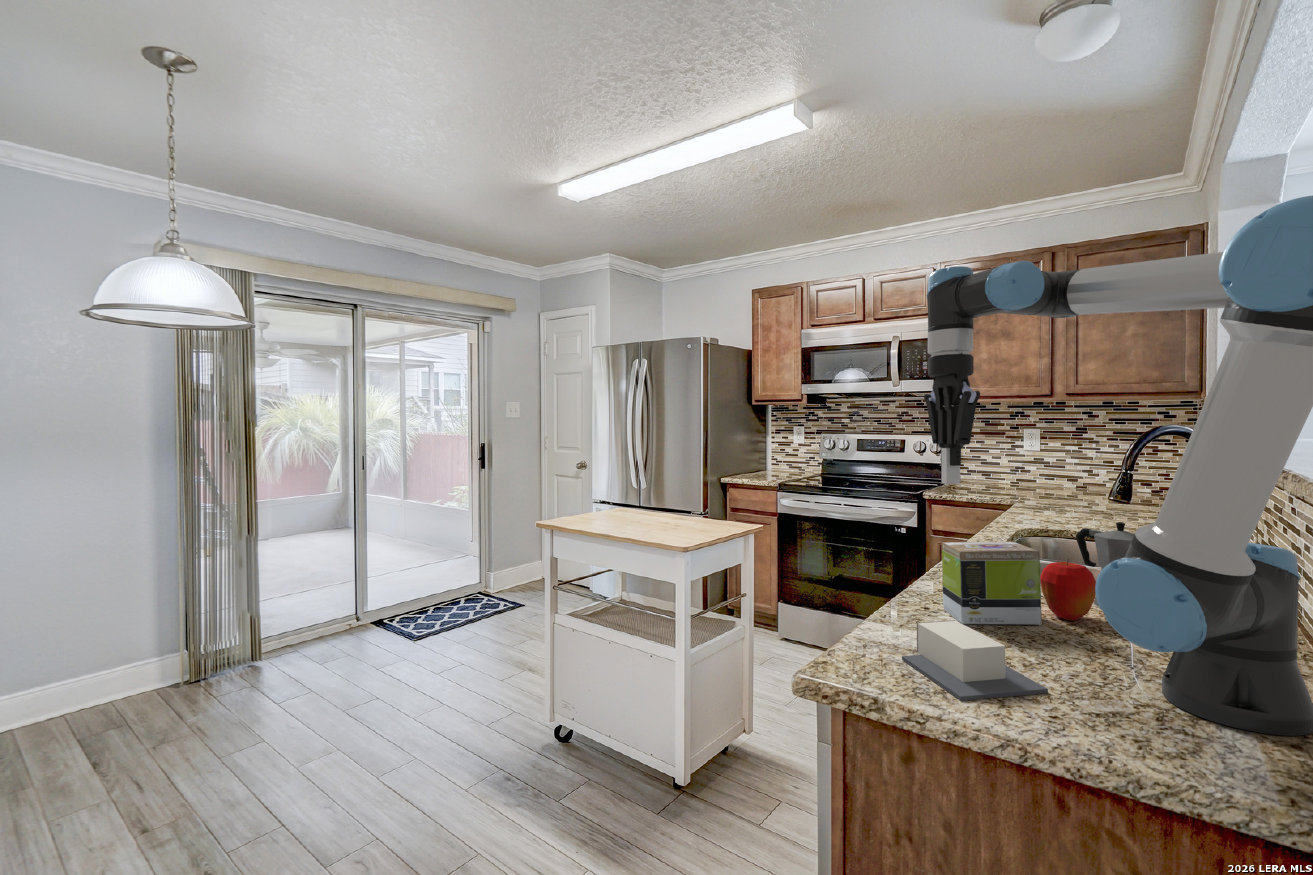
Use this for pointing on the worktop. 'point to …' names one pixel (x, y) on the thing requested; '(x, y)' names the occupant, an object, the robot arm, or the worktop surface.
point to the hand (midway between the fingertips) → (950, 483)
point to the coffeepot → (1105, 545)
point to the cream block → (961, 650)
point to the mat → (976, 682)
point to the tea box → (991, 583)
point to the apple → (1068, 589)
